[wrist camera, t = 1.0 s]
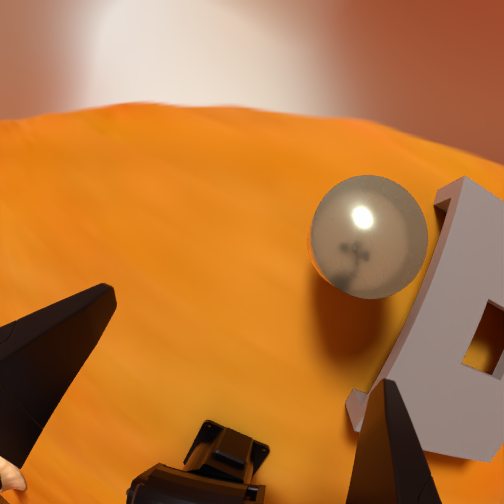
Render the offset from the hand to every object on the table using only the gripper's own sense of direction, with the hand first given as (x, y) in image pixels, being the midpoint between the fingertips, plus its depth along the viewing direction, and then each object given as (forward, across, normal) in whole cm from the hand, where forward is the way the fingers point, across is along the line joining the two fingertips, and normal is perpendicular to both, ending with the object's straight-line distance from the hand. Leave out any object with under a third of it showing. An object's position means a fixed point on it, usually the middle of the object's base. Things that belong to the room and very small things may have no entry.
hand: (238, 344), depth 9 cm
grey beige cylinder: (+16, -4, +5) cm, 17 cm away
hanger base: (+14, -18, +8) cm, 24 cm away
